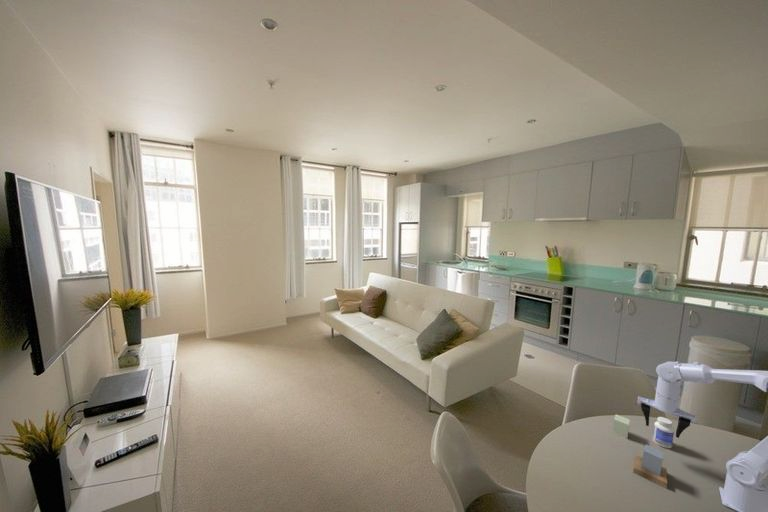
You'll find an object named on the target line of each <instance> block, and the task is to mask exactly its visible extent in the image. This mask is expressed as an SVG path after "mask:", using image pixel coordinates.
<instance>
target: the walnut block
mask: <svg viewBox="0 0 768 512" xmlns="http://www.w3.org/2000/svg"><path fill="white" fill-rule="evenodd" d="M642 460H643V456H640V455H638V454H634V459H633V470H632V473H633V474H635V475H637V476H639V477H641V478H643V479H646V480H648V481H649V482H652V483H654V484H656V485H658V486H661V487H662V488H664V489H666V490H667V488H668V470H667V467H665V466H663V465H662V467H661V473H660V476H659V475H657V474H655V473H653V472H651V471H649V470H647V469H645V468H643V467H642Z"/></svg>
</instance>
